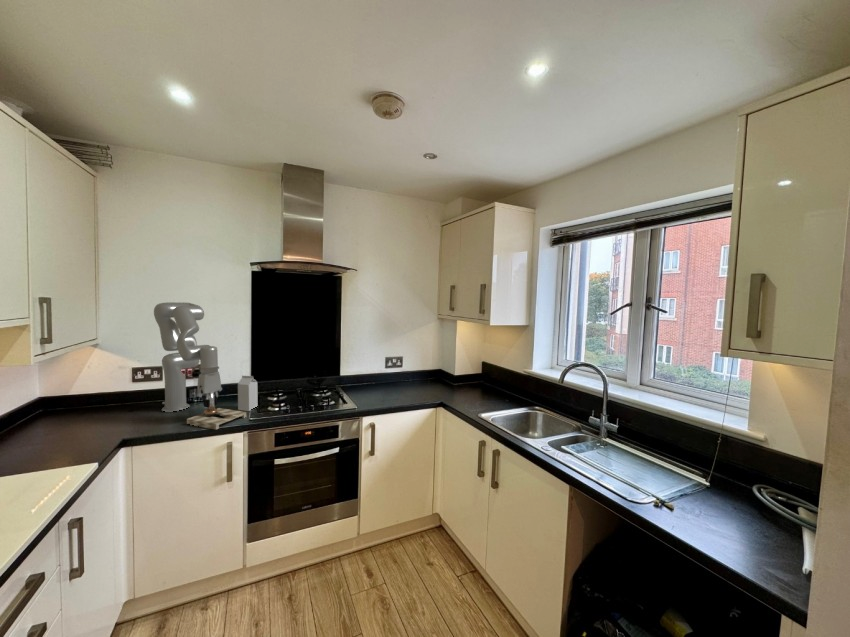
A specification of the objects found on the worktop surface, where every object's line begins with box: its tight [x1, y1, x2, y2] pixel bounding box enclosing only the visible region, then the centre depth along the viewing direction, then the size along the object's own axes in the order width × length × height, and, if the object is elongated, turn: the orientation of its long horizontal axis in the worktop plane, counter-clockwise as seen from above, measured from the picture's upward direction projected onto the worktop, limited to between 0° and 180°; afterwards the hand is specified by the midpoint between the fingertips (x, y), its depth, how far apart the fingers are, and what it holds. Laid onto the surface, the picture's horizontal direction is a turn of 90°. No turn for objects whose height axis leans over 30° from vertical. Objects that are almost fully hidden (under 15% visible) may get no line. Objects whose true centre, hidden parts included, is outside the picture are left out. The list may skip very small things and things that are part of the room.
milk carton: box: [237, 375, 259, 412], centre depth 192 cm, size 7×7×19 cm
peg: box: [203, 392, 218, 416], centre depth 174 cm, size 6×6×11 cm
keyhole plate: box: [186, 407, 247, 430], centre depth 173 cm, size 19×18×3 cm
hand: (210, 405), depth 174 cm, fingers closed on peg, 3 cm apart
